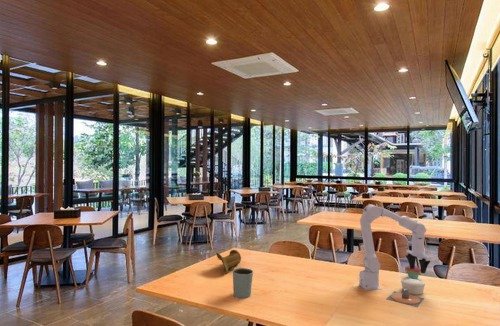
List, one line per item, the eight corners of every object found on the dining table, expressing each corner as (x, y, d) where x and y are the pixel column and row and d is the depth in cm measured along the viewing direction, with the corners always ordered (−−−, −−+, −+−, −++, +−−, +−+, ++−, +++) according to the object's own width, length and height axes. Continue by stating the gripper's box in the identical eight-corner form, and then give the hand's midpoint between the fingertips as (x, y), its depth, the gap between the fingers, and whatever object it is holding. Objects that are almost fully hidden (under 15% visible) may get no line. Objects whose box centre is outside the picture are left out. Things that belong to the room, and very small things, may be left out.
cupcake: (422, 280, 188) (422, 259, 188) (406, 279, 190) (407, 258, 190) (418, 276, 196) (418, 255, 197) (403, 274, 198) (403, 254, 198)
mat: (417, 308, 150) (417, 307, 150) (385, 300, 159) (385, 299, 159) (424, 299, 161) (424, 298, 161) (394, 291, 170) (394, 291, 170)
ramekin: (405, 286, 179) (405, 276, 179) (427, 292, 171) (427, 281, 171) (397, 291, 171) (397, 281, 171) (420, 297, 163) (420, 287, 163)
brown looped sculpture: (202, 257, 204) (228, 245, 220) (208, 277, 203) (234, 264, 219) (220, 253, 192) (246, 241, 208) (227, 275, 190) (252, 261, 206)
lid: (399, 304, 153) (399, 294, 153) (385, 294, 166) (385, 284, 166) (426, 303, 154) (426, 294, 154) (410, 293, 167) (410, 284, 167)
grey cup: (229, 293, 165) (229, 269, 166) (247, 290, 169) (248, 267, 170) (236, 300, 156) (237, 275, 156) (256, 297, 160) (256, 272, 160)
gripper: (434, 248, 169) (434, 274, 169) (413, 241, 183) (413, 266, 183) (423, 248, 167) (423, 275, 167) (403, 242, 181) (403, 267, 181)
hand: (417, 270), depth 175 cm, fingers open, 7 cm apart
